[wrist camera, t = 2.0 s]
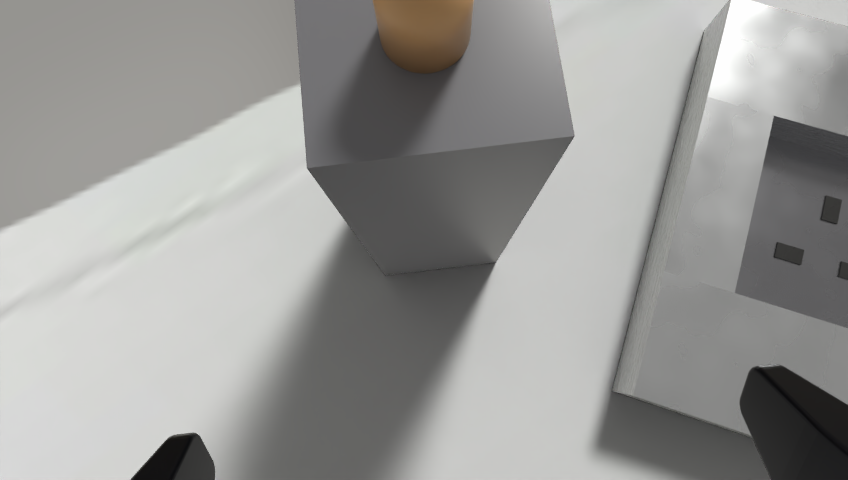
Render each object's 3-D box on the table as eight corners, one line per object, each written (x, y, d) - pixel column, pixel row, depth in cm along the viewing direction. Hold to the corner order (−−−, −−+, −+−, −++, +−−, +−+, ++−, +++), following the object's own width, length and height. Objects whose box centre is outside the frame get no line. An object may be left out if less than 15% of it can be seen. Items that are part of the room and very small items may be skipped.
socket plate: (937, 500, 19) (1003, 519, 17) (612, 390, 21) (633, 396, 18) (992, 107, 22) (1054, 80, 20) (704, 30, 23) (732, -4, 21)
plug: (495, 262, 22) (611, 76, 7) (385, 275, 22) (269, 117, 7) (480, 157, 23) (554, -202, 8) (374, 170, 23) (253, -165, 8)
